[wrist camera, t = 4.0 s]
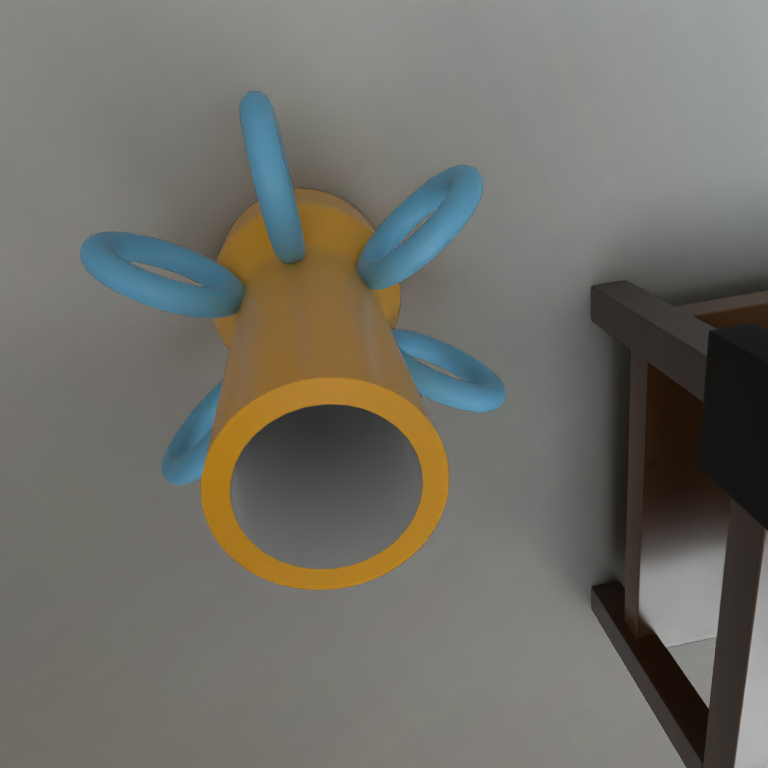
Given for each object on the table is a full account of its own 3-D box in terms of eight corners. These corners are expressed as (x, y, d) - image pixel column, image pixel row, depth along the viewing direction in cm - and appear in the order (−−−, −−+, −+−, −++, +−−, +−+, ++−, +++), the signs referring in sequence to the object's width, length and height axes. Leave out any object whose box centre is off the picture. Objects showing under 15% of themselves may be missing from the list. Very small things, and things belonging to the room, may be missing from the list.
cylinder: (463, 385, 27) (644, 677, 13) (214, 443, 27) (140, 807, 13) (415, 61, 22) (629, 1, 8) (106, 124, 21) (-207, 169, 8)
